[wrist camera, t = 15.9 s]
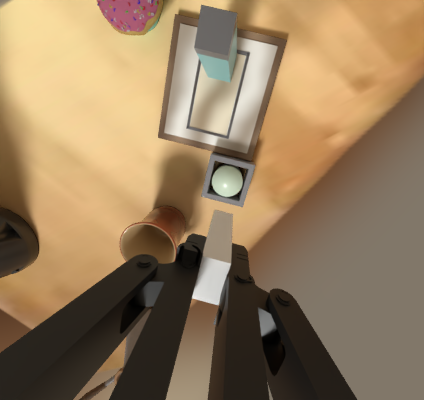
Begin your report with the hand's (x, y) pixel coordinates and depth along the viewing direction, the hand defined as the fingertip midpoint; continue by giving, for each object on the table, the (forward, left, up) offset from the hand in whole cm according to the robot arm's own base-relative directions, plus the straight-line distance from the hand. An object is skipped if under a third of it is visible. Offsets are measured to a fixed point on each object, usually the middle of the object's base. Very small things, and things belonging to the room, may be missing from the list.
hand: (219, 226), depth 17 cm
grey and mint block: (-5, +16, -19) cm, 25 cm away
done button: (0, 0, -20) cm, 20 cm away
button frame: (0, 0, -20) cm, 20 cm away
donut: (-18, +20, -21) cm, 34 cm away
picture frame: (-5, +12, -20) cm, 24 cm away
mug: (-8, -13, -21) cm, 26 cm away
